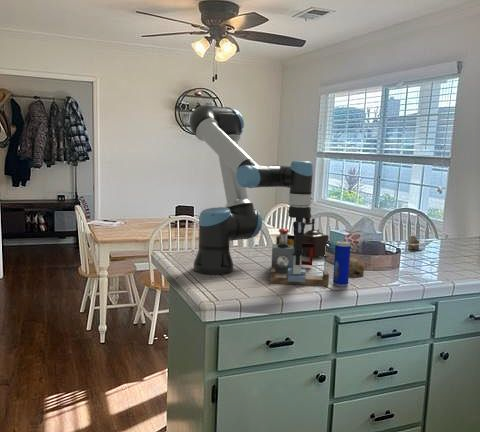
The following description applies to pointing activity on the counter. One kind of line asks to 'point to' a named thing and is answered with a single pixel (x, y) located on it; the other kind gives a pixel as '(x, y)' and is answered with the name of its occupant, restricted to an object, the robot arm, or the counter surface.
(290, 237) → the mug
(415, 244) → the architectural model
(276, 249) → the grey block
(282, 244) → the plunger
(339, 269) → the beverage can
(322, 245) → the manual coffee grinder
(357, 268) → the bread roll
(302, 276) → the carriage
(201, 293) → the counter surface
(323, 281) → the rail
